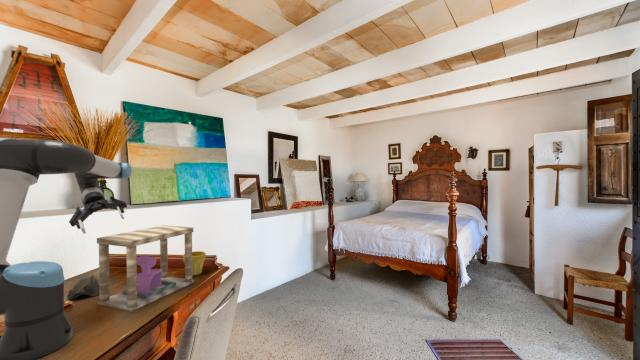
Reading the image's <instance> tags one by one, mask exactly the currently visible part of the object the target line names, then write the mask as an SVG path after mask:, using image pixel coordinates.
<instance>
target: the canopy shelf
mask: <svg viewBox="0 0 640 360" xmlns="http://www.w3.org/2000/svg"><path fill="white" fill-rule="evenodd" d="M193 233H194V227H193V226H192V227H191V226H188V227H187V226H177V225H159V226H154V227H148V228H144V229H138V230H134V231H133V230H132V231H127V232H121V233H117V234H112V235H108V236H107V235H105V236H101V237H96V244H98V277H99V279H98V280H99V281H98V282H99V292H100V294H99V300H98V301H97V304H98V305H99V306H100V305H101V306H106V307H110V308H114V309H118V310H122V311H127V312H133V311H135V310H138V309H139V308H141V307H145V306H146V305H148V304H151V303H153V302H155V301H157V300H159V299H161V298H163V297H166V296H167V295H170V294H172V293H174V292H176V291H178V290H180V289H183V288H185V287H188V286H189V285H191V284H193V283H195V280H194V279H193V275H192V252H193ZM183 235H184V254H185V263H184V278H183V277H175V276H169V268H168V267H169V265H168V262H169V261H168V260H169V257H168V256H169V255H168V253H169V251H168V239H170V238H173V237H178V236H183ZM154 242H159V249H160V250H159V252H160V253H159V254H160V255H159V256H160V257H159V258H160V259H159V263H160V264H159V265H160V266H159V267H160V268H159V269H162V275H161V283H162V286H149V288H150V293H149V294H141V293H137V287H138V282H137V274H138V273H137V272H138V271H137V269H138V268H137V267H138V265H137V258H138V257H137V247H138V246H141V245H146V244H149V243H154ZM110 246H115V247H126V250H125V251H126V254H125V255H126V289H124V290H122V291H121V292H118V293H115V294H113V295H111V296H110Z"/></svg>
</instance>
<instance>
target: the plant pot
mask: <svg viewBox="0 0 640 360" xmlns="http://www.w3.org/2000/svg"><path fill="white" fill-rule="evenodd" d="M206 254H207V253H206V252H205V251H203V250H202V251H201V250H197V251H192V276H197V275H201V274H202V272H203V267H204V263H205V261H206V256H207V255H206ZM182 262H183V264H185V253H183V255H182Z"/></svg>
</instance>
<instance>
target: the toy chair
mask: <svg viewBox="0 0 640 360" xmlns="http://www.w3.org/2000/svg"><path fill="white" fill-rule="evenodd" d="M156 264H157V259H156V258H155V257H153V256H151V255H140V256H138V257H137V266H139V267H141V269H140V270H141V272H139V273H137V285H138V287H137V293H141V294H149V293H150V288H149V286H162V283H161V275H162V269H160V268H154V269H153V267H155V266H156Z"/></svg>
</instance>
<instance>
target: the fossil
mask: <svg viewBox="0 0 640 360" xmlns="http://www.w3.org/2000/svg"><path fill="white" fill-rule="evenodd" d="M83 295H86V296H90V297H95V296H98V295H100V292H99V281H98V279H96V277H95V276H94V275H93V274H90V273H88V274H87V275H85V276H84V277H82V278H81V279H80V280H79V281H77V283H76V284H75V285H74V286H73V287H72V288H71V289H70V290H69V291H68V294H67V295H66V297H67V299H68V300H71V301H72V300H74V299H76V298H78V297H80V296H83Z"/></svg>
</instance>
